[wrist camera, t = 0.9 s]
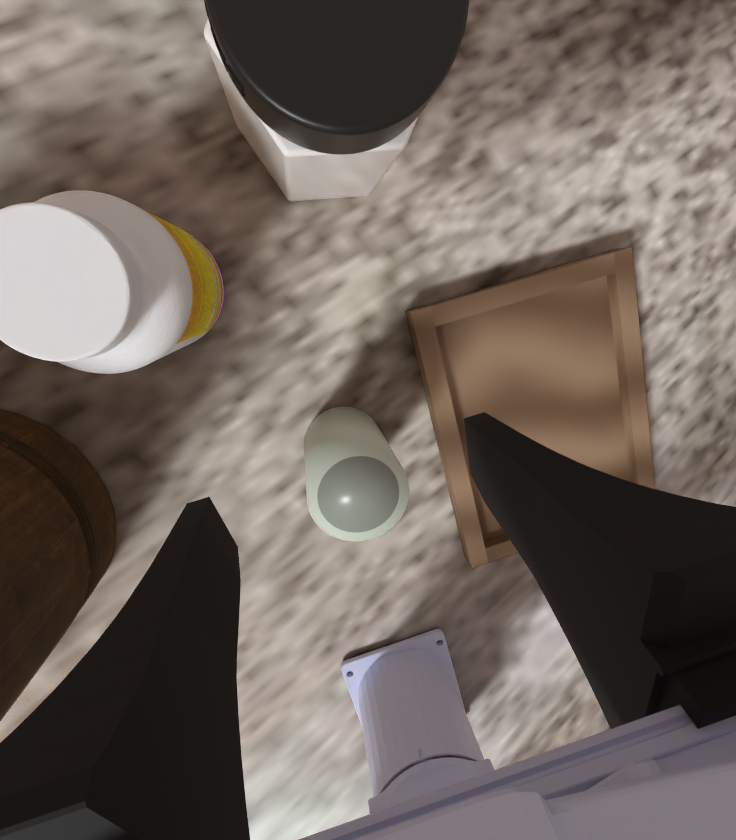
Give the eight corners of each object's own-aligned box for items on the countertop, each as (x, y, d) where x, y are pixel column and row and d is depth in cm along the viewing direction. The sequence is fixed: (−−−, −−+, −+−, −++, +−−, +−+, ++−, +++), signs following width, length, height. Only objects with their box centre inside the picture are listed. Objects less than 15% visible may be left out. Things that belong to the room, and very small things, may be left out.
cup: (389, 466, 31) (419, 523, 24) (317, 489, 31) (324, 554, 23) (369, 396, 30) (395, 432, 22) (293, 419, 29) (293, 464, 22)
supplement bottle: (182, 201, 25) (75, 117, 13) (248, 312, 27) (209, 328, 15) (74, 261, 25) (-134, 234, 13) (147, 367, 27) (27, 429, 15)
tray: (641, 497, 35) (656, 506, 33) (465, 556, 34) (472, 568, 32) (615, 249, 30) (631, 247, 28) (405, 311, 29) (410, 312, 27)
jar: (280, -12, 24) (264, -300, 12) (422, 75, 25) (524, -101, 14) (217, 165, 25) (151, 59, 14) (355, 234, 27) (397, 193, 16)
